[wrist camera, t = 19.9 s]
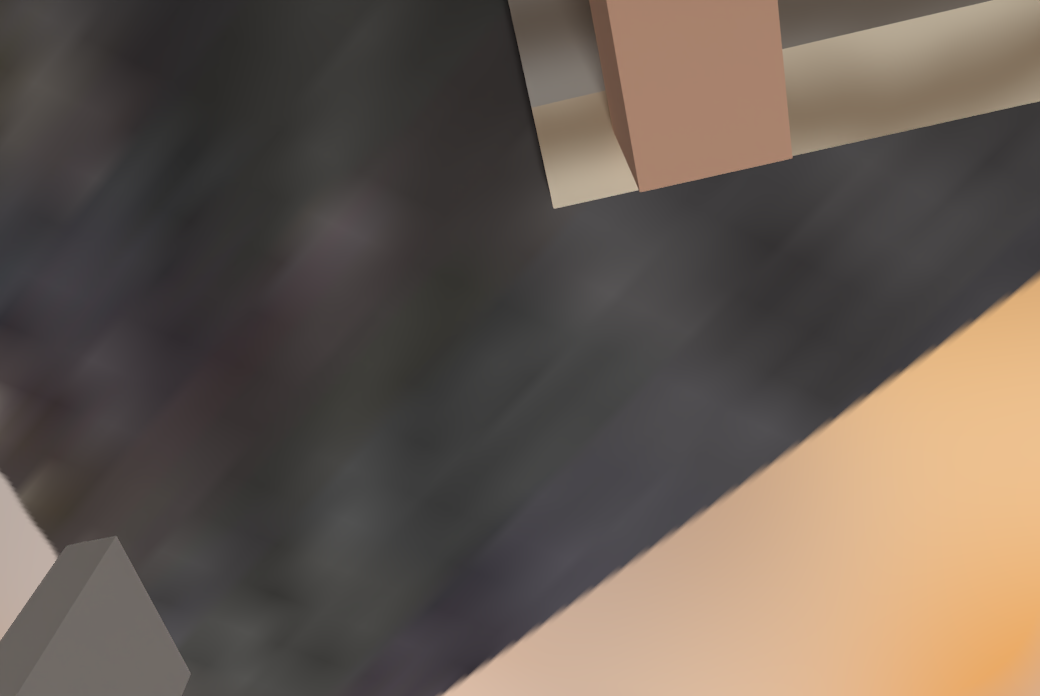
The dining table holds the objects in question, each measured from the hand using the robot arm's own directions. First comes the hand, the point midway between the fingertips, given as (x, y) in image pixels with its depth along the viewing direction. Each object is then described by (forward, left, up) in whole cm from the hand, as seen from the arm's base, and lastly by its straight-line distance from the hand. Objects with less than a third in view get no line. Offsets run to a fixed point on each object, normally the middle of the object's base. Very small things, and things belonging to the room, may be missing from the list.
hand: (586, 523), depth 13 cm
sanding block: (-3, +5, -24) cm, 24 cm away
